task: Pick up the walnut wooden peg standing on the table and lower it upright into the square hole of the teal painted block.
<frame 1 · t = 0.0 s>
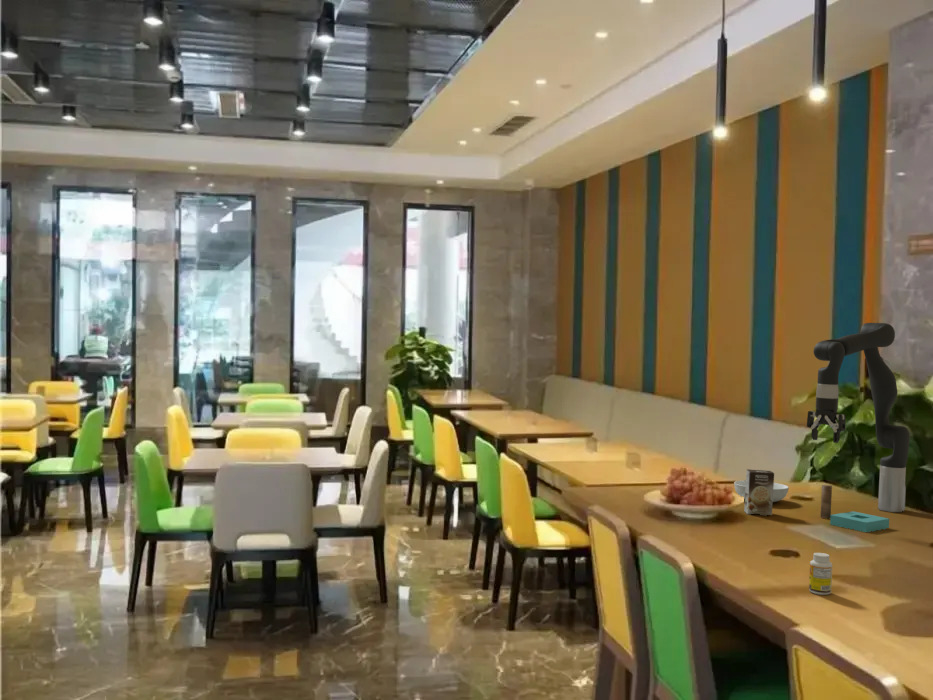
hand: (825, 441, 342), 29 cm above the table, tool pointing down, fingers open, 8 cm apart
coffee box: (758, 514, 354), on the table
serving bowl: (760, 501, 379), on the table
hole block: (859, 526, 336), on the table
peg: (825, 517, 350), on the table
supplement bottle: (819, 593, 250), on the table
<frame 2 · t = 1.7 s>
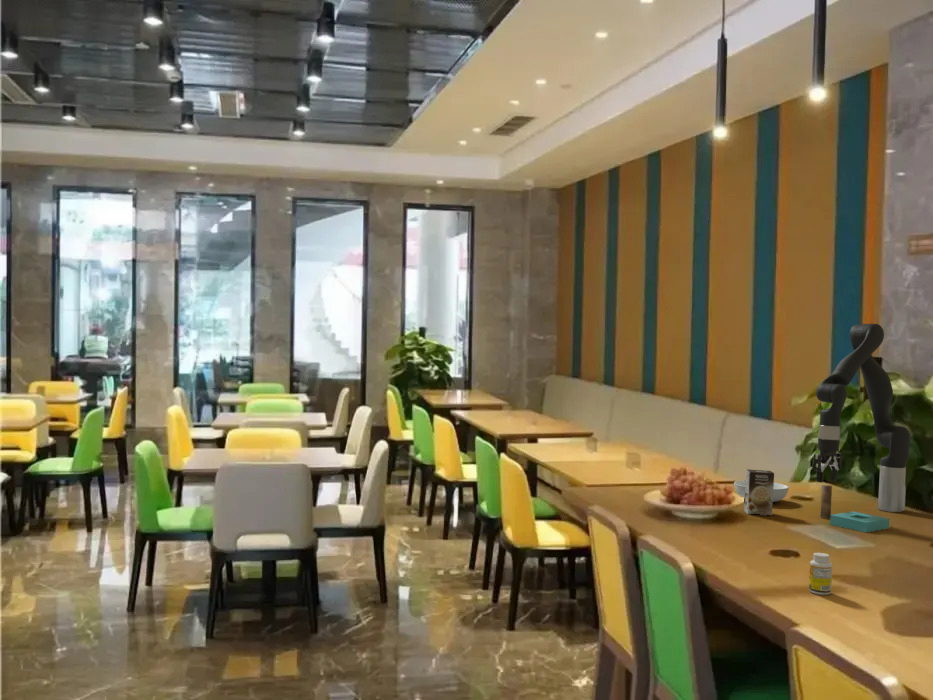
hand: (826, 481, 349), 14 cm above the table, tool pointing down, fingers open, 8 cm apart
nothing on the table moved.
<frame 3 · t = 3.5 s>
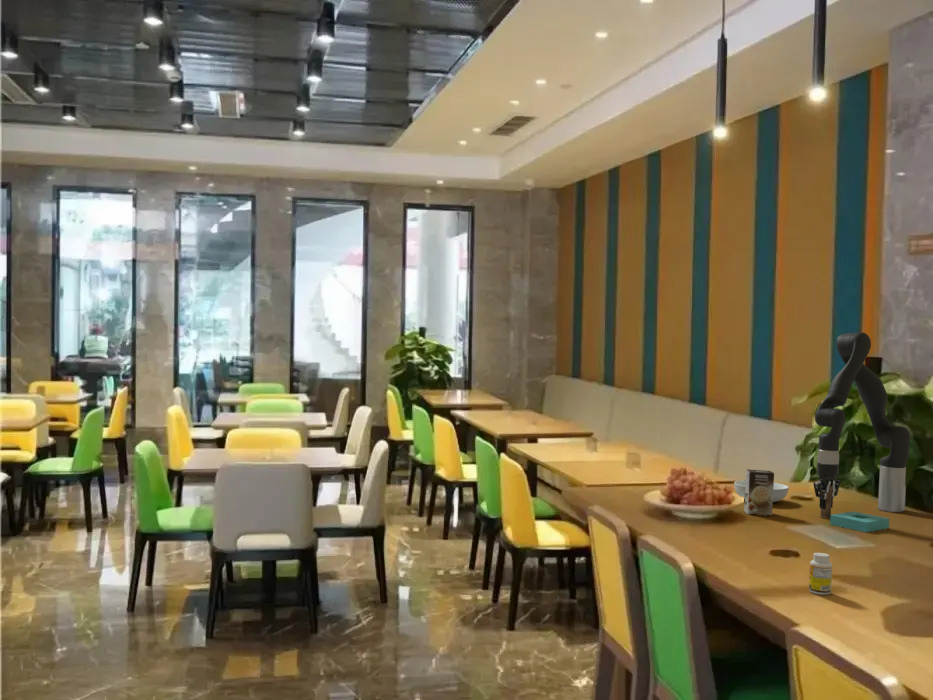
hand: (825, 508, 349), 4 cm above the table, tool pointing down, fingers closed on peg, 3 cm apart
peg: (825, 517, 350), on the table, touching gripper
everything else where it was.
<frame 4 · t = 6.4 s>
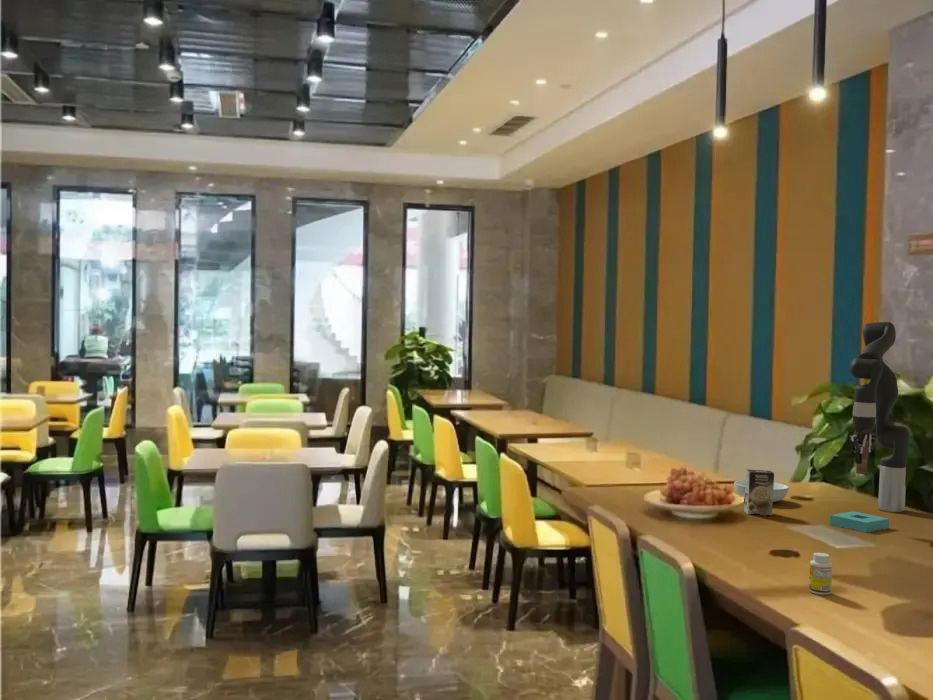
hand: (861, 463, 335), 23 cm above the table, tool pointing down, fingers closed on peg, 3 cm apart
peg: (861, 473, 336), point 19 cm above the table, touching gripper
everything else where it was.
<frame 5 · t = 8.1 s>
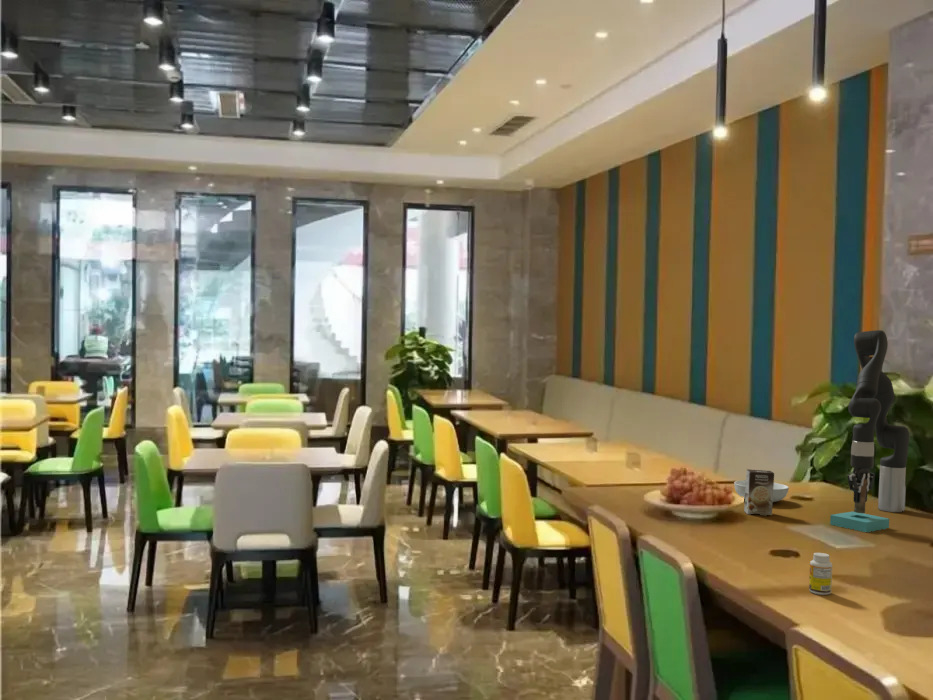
hand: (860, 501, 336), 9 cm above the table, tool pointing down, fingers closed on peg, 3 cm apart
peg: (859, 512, 336), point 5 cm above the table, touching gripper
everything else where it was.
when the fingers open (6 cm above the table, at t = 9.4 s): peg drops 2 cm, resting in hole block.
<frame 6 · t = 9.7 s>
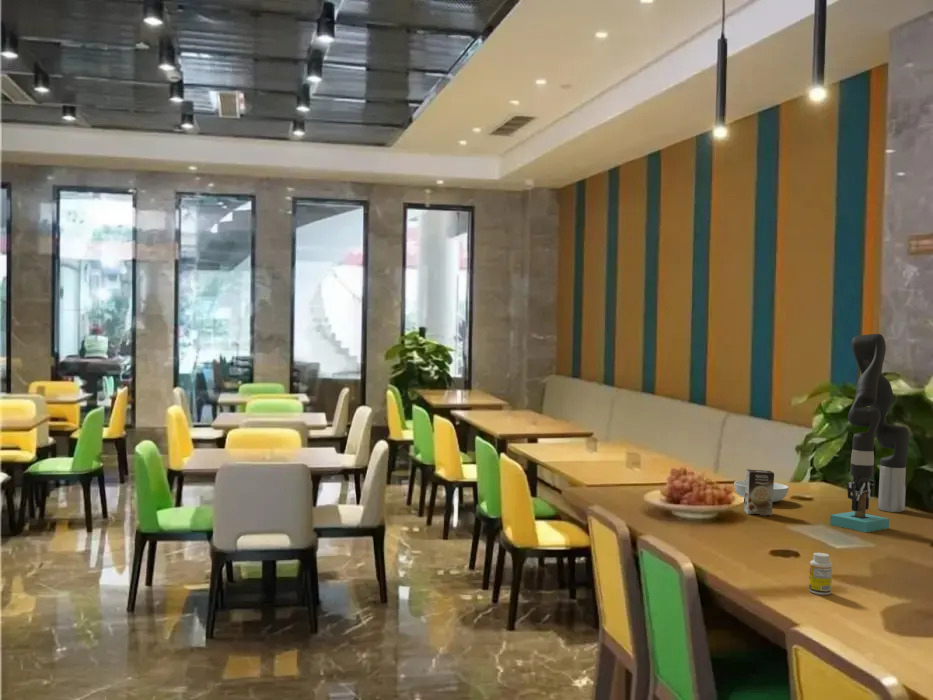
hand: (860, 509, 336), 6 cm above the table, tool pointing down, fingers open, 5 cm apart
peg: (859, 526, 336), resting in hole block
everything else where it was.
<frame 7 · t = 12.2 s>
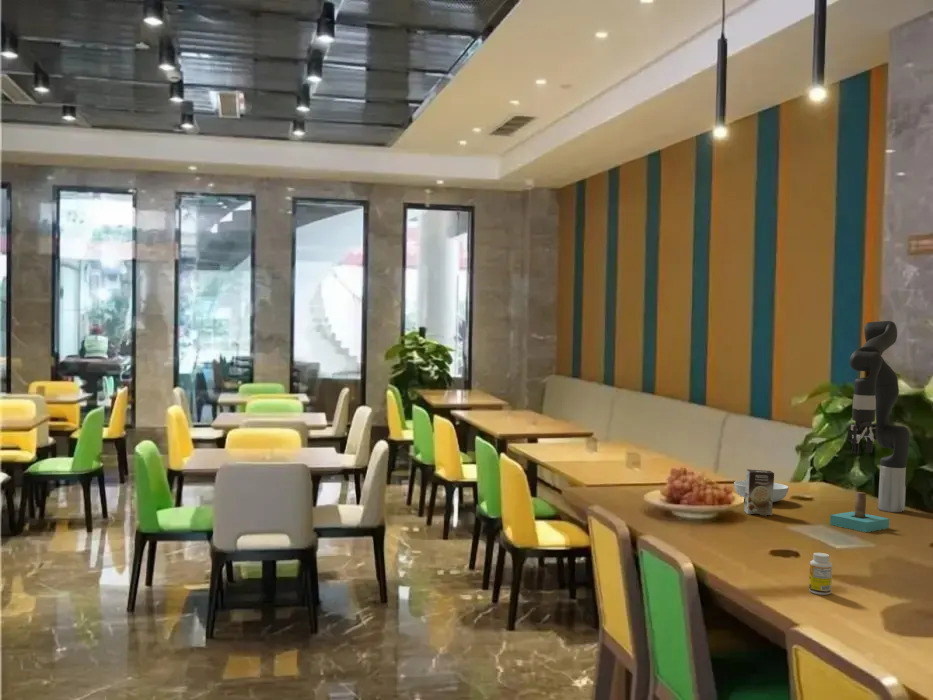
hand: (862, 453, 336), 26 cm above the table, tool pointing down, fingers open, 8 cm apart
nothing on the table moved.
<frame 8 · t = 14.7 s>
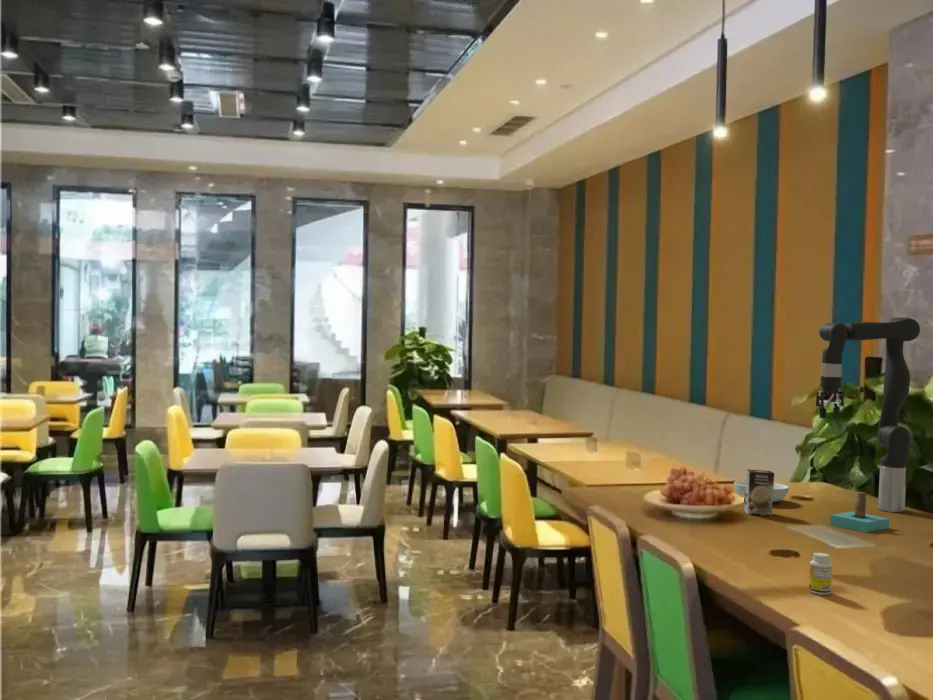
hand: (829, 417, 360), 36 cm above the table, tool pointing down, fingers open, 8 cm apart
nothing on the table moved.
at the end: peg 0.1 cm off-centre on the hole block, point 0.0 cm above the hole block's base; peg tilted 0°; the gripper is holding nothing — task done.
